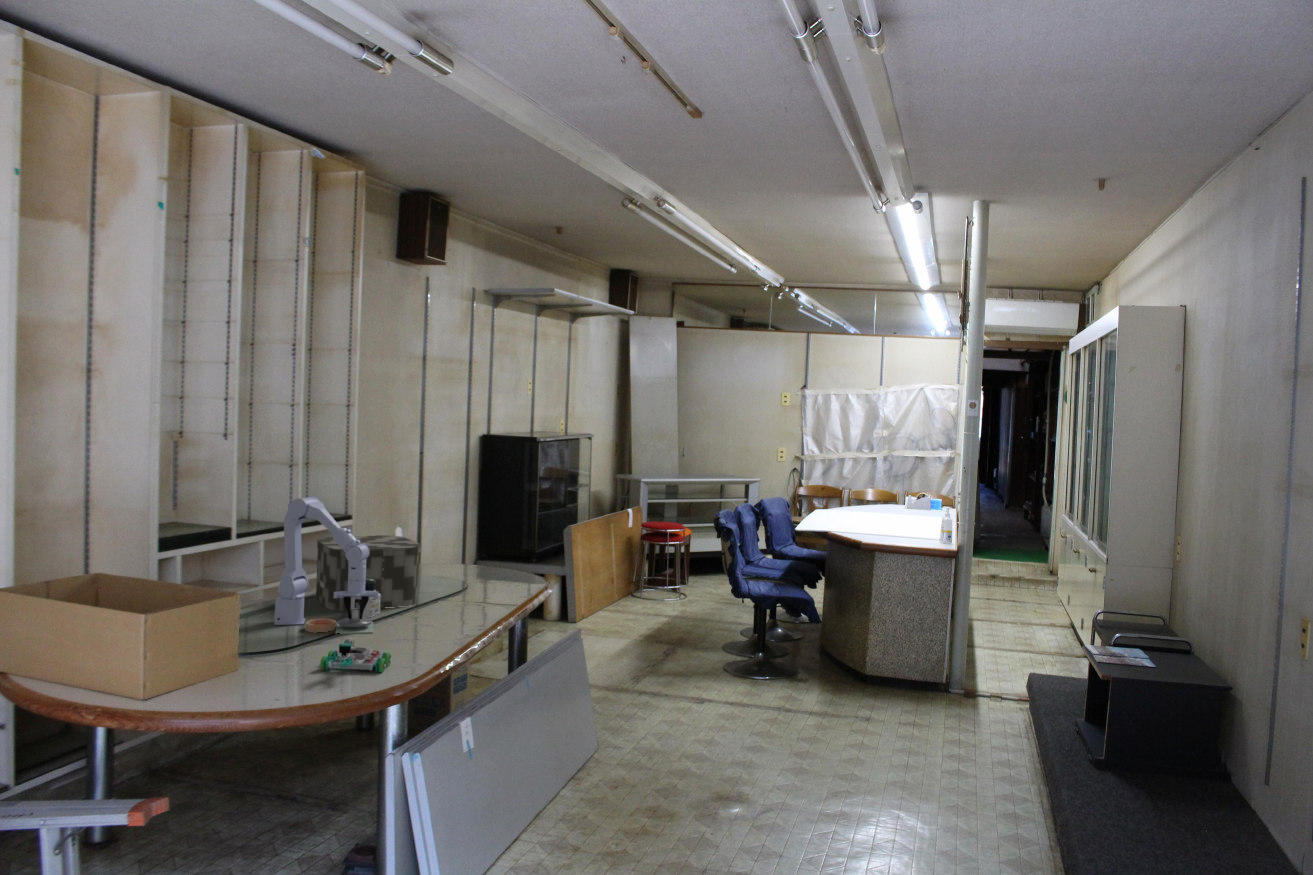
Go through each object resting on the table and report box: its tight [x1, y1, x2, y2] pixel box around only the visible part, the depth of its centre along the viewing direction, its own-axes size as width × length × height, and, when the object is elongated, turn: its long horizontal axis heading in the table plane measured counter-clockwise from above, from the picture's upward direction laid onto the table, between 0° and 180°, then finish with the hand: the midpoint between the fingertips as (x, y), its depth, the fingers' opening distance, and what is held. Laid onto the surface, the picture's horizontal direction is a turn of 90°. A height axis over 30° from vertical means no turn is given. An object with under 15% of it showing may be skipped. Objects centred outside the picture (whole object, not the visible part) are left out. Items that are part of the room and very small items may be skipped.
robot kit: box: [319, 638, 392, 674], centre depth 259 cm, size 19×25×9 cm
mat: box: [334, 621, 374, 635], centre depth 309 cm, size 12×14×1 cm
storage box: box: [315, 534, 422, 612], centre depth 353 cm, size 35×35×23 cm
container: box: [351, 579, 381, 619], centre depth 329 cm, size 8×8×13 cm
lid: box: [337, 608, 373, 627], centre depth 309 cm, size 11×11×5 cm
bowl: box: [304, 618, 337, 634], centre depth 305 cm, size 10×10×2 cm
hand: (355, 618), depth 309 cm, fingers closed on lid, 3 cm apart
